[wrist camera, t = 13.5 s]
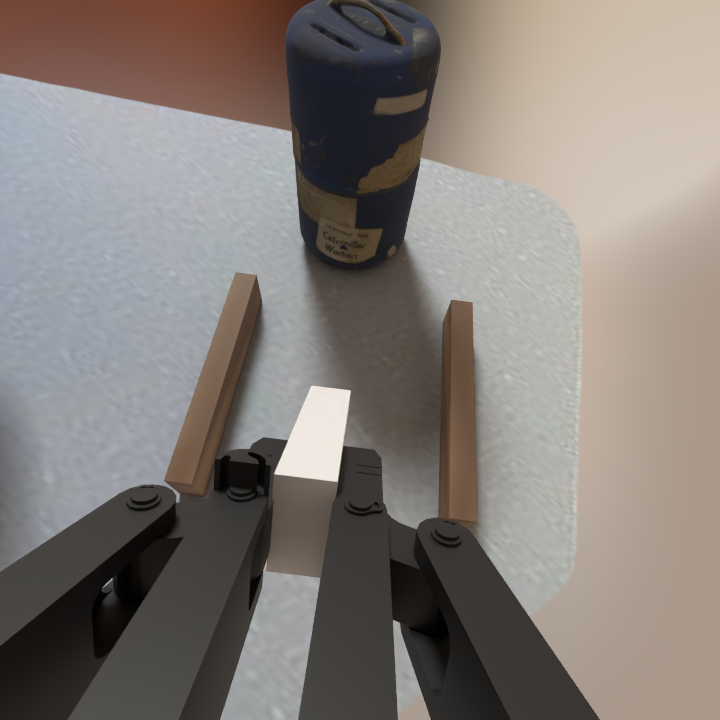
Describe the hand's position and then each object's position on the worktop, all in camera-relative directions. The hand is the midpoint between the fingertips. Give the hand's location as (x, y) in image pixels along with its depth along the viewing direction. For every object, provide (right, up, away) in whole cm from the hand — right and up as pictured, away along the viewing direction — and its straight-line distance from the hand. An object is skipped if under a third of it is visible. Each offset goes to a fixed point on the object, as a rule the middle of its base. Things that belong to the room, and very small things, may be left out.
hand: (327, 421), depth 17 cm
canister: (+1, +14, +24) cm, 27 cm away
